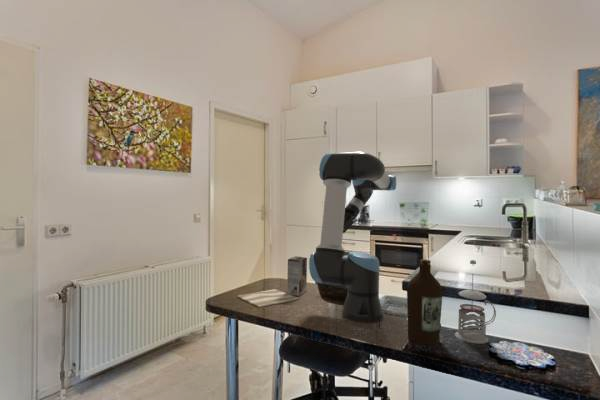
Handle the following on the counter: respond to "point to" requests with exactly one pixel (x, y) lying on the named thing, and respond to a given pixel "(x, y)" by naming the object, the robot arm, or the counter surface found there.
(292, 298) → the board
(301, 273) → the coffee box
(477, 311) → the french press
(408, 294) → the olive oil
